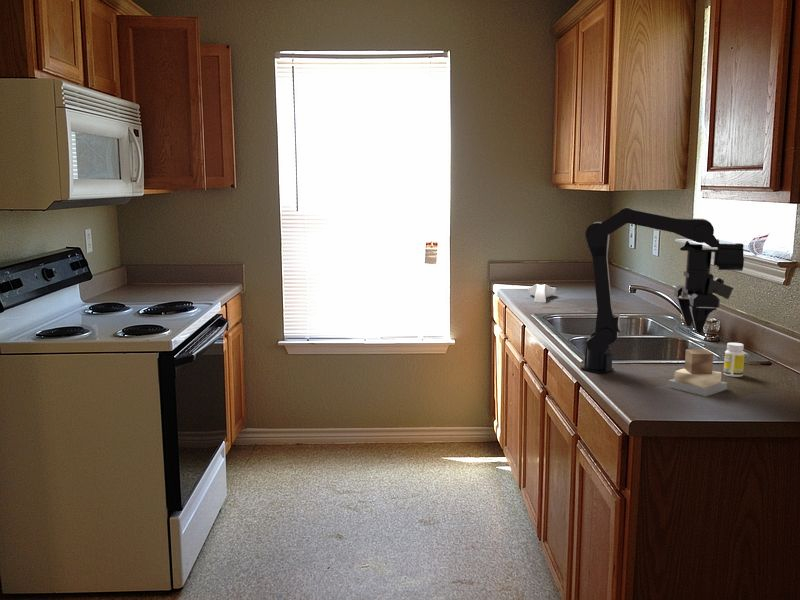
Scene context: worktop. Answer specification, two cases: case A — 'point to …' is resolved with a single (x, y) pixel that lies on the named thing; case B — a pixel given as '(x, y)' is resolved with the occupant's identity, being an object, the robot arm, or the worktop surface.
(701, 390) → the grey base block
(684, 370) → the birch top block
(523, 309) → the worktop surface
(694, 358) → the walnut cube
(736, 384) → the worktop surface
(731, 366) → the supplement bottle
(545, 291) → the spoon rest
